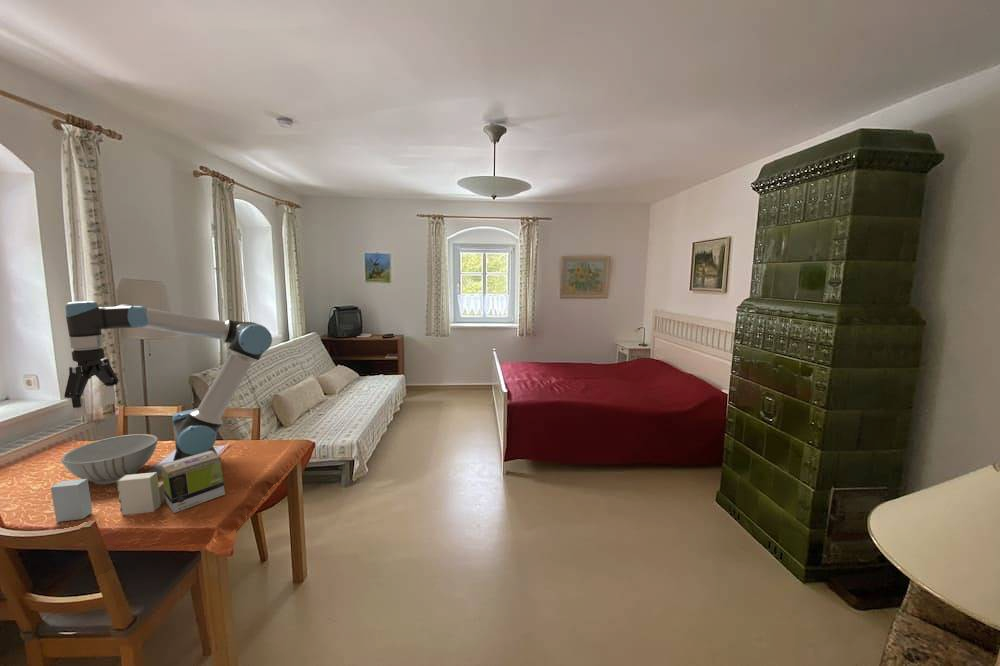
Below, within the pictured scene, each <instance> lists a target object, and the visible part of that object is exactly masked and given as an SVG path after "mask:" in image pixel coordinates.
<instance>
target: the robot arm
mask: <svg viewBox="0 0 1000 666" xmlns="http://www.w3.org/2000/svg"><path fill="white" fill-rule="evenodd" d="M64 307H65V318H66V319H65V320H66V324H67V330H68V335H69V342H70V348H71V349H72V351H71V356H72V357H71V358H72V361H73V362H75V363H77V365H75V366H69V367H68V370H69V373H68V379H67V382H66V387H65V392H64V398H65V399H71V403H72V407H73V413H74V418H84V417H87V415H88V414H87V408H86V401H85V396H83V393H84V391H85V388H86V386H87V384H88V381H89V380H90V379H92V377H94V376H95V377H96V378H97V379H98V380H99V381H100V382H101V383H102V384H104V385H103V386H102V389H103V397H104V404H105V405H115V404H116V403H117V402H116V401H117V400H116V394H115V387H114V386H117V385H118V382H119V379H118V376H117V375H116V373H115V371H114V369H113V368H112V366H111V364H110V359H109V358H106V356H105V349H104V348H103V346H104V340H103V339H104V338H103V335H102V334H103V333H102V330H113V329H115V330H116V329H137V328H144V329H149V330H150V329H151V330H157V331H163V332H169V333H177V334H182V335H183V334H184V335H190V336H196V337H204V338H210V339H216V340H220V341H221V342H222V343H228V344H230V345H229V347H228V348H227V349H228V351H229V355H228V357H227V358H226V360H225V362H224V363H223V365H222V367H221V368H220V370H219V372H218V373H217V375H216V377H215V378H214V380H213V382H212V383H211V385H210V386H209V389H208V390H207V391H206V393H205V395H204V397H203V399H202V400H201V402H200V404H199V405H198V407H197V408H195V409H194V408H193V409H188V410H183V411H180V412H179V411H178V412H176V413H174V414H173V415H172V421H171V422H172V427H173V434H174V443H175V453H174V456H173V459H172V461H175V460H179V459H182V458H185V457H189V456H192V455H196V454H199V453H203V452H206V451H209V450H212V451H213V452H214V453H216V454H217V455H218V452H217V450H216V449H215V447H214V445H215V443H216V441H217V434H218V432H219V430H220V428H221V426H222V425H223V420H222V416H223V415H224V413H225V411H226V409H227V408H228V405H230V402H231V400H232V399H233V397H234V395H235V394H236V392H237V390H238V389H239V387H240V385H241V383H242V381H243V380H244V378H245V376H246V374H247V373H248V372H249V369H250V368H251V366H252V365H253V363H256V362H259V361H260V359H261V357H262V355H263V353H265V352H266V351H267V350H269V349H270V347H271V346H272V342H273V337H272V333H271V332H270V330H269V329H268V328H266V326H264V325H262V324H260V323H259V324H258V323H256V322H252V321H238V320H230V319H227V320H225V321H223V320H216V319H212V318H207V317H199V316H194V315H189V314H188V315H187V314H183V313H177V312H172V311H164V310H160V309H155V308H147V307H145V306H143V305H133V304H129V303H123V304H122V303H121V304H118V305H116V306H106V307H105V306H103V307H102V306H99V305H98V302H97V301H71V302H67V303H66V304H65V306H64ZM218 456H219V455H218Z"/></svg>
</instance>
